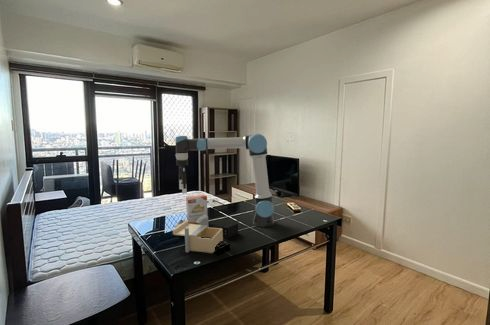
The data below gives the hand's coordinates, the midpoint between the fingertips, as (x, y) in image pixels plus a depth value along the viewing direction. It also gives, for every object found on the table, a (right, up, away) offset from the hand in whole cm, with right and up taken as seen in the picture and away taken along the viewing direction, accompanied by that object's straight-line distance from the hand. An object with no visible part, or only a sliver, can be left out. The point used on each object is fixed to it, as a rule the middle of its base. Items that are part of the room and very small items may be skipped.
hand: (182, 191), depth 169 cm
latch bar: (+14, -17, -10) cm, 24 cm away
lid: (+9, -21, -19) cm, 30 cm away
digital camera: (+32, -28, -5) cm, 42 cm away
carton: (+19, -29, -17) cm, 39 cm away
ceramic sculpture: (-1, -28, +2) cm, 28 cm away
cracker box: (+7, -26, +15) cm, 31 cm away
